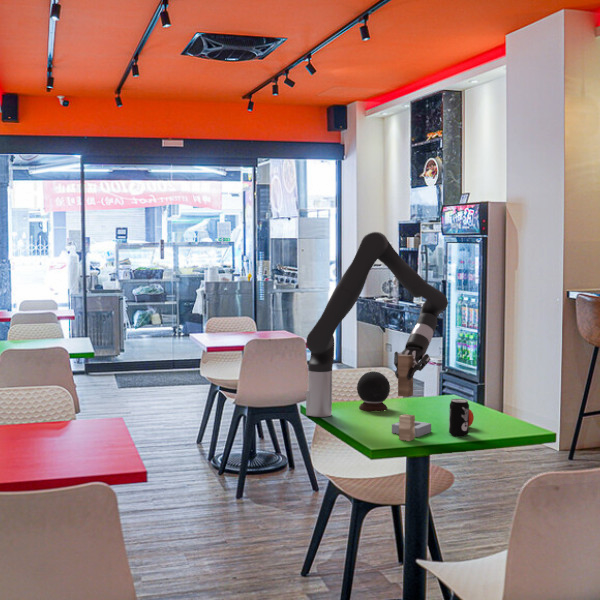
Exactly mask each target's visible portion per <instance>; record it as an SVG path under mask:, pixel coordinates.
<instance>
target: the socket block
mask: <svg viewBox="0 0 600 600" xmlns="http://www.w3.org/2000/svg"><path fill="white" fill-rule="evenodd" d="M395 433H396V435H399V421H398V422H395V423H392V424H391V434H395ZM430 433H432V423H430V422H424V421H423V422H422V421H417V420H415V436H414V438H419V437H422V436H424V435H426V434H430Z"/></svg>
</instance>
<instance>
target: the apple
mask: <svg viewBox="0 0 600 600" xmlns="http://www.w3.org/2000/svg"><path fill="white" fill-rule="evenodd" d="M474 419H475V416H474V413H473V412H472V410H471V409H470V408H469V427H470V426H472V424H473V422H474Z"/></svg>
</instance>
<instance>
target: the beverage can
mask: <svg viewBox="0 0 600 600" xmlns="http://www.w3.org/2000/svg"><path fill="white" fill-rule="evenodd" d="M469 409H470V403H469V400H468V399H464V398H452V399H450V402H449V410H448V411H449V416H448V417H449V419H448V433H449V435H451V436H454V437H467V435H468V434H469V430H470V429H469V428H470V426H469Z"/></svg>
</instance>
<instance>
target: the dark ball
mask: <svg viewBox="0 0 600 600" xmlns="http://www.w3.org/2000/svg"><path fill="white" fill-rule="evenodd" d="M356 391H357V394H358V396H359V398H360V400H362V401H363V402H362V403H360V405H359V406H358V409H359V410H360V411H364V412H371V411H380V412H385V411H384V410H386V411H387V410H388V407H387V405H386V404H385V403H384V401H386V400H387V399H388V396H389V395H390V391H391V384H390V381H389V380H388V378H387V377H386V376H385V375H384V374H383V373H381V372H378V371H374V370H373V371H368V372H366V373H364V374H363V375H361V376H360V378H359V380H358V381H357V386H356Z"/></svg>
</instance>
